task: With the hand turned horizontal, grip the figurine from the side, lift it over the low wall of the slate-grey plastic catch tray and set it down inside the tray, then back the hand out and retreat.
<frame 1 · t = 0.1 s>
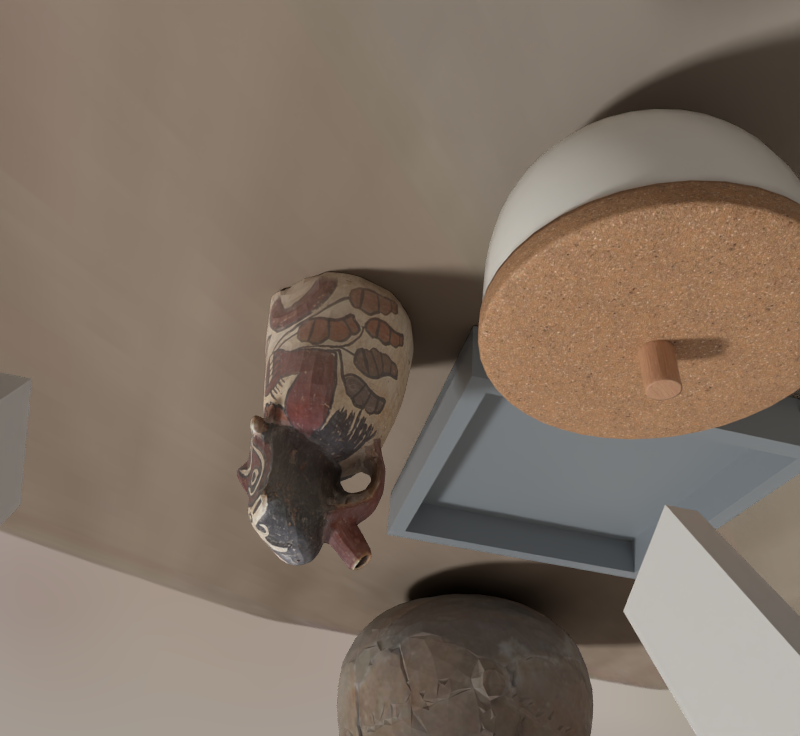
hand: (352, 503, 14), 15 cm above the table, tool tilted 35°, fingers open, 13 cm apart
catch tray: (570, 454, 40), on the table
figurine: (343, 321, 33), on the table
clay pot: (465, 599, 61), on the table
lidded jar: (623, 186, 25), on the table
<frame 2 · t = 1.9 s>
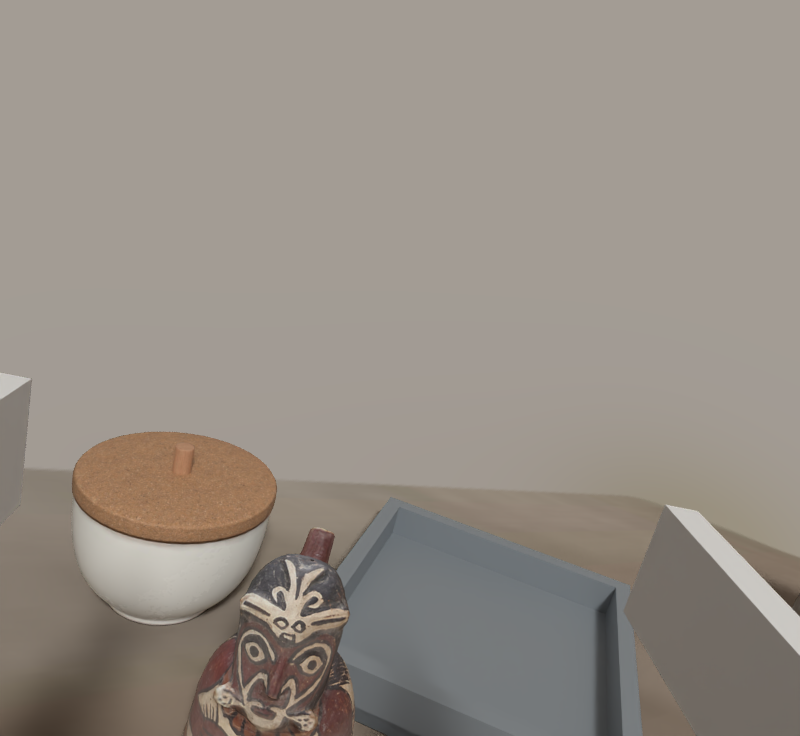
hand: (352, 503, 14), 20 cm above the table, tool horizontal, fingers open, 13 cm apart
catch tray: (472, 647, 41), on the table
lidded jar: (160, 593, 39), on the table
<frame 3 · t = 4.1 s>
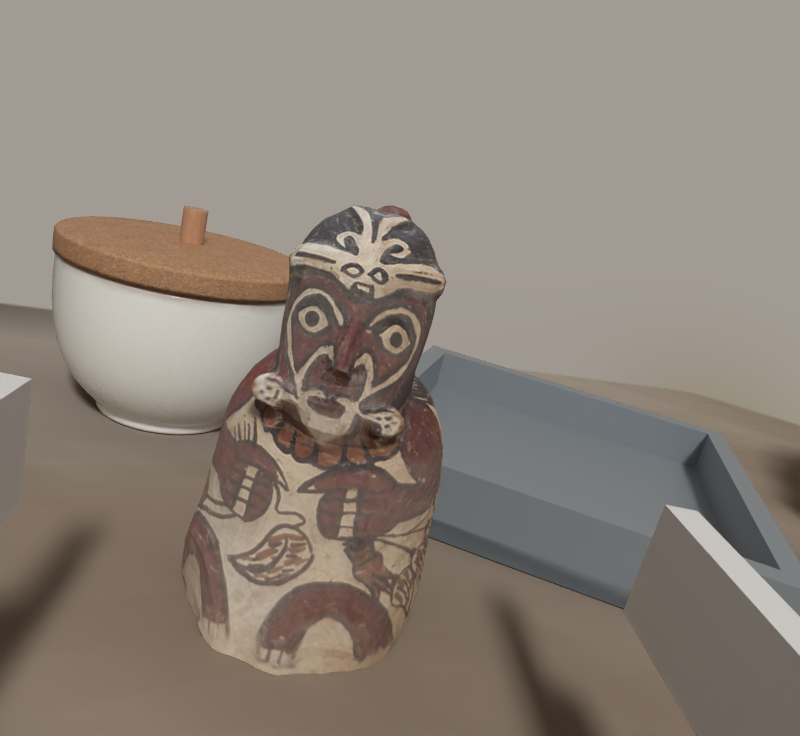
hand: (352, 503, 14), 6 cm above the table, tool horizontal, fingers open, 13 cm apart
catch tray: (547, 485, 34), on the table
figurine: (295, 596, 21), on the table
lidded jar: (165, 411, 32), on the table
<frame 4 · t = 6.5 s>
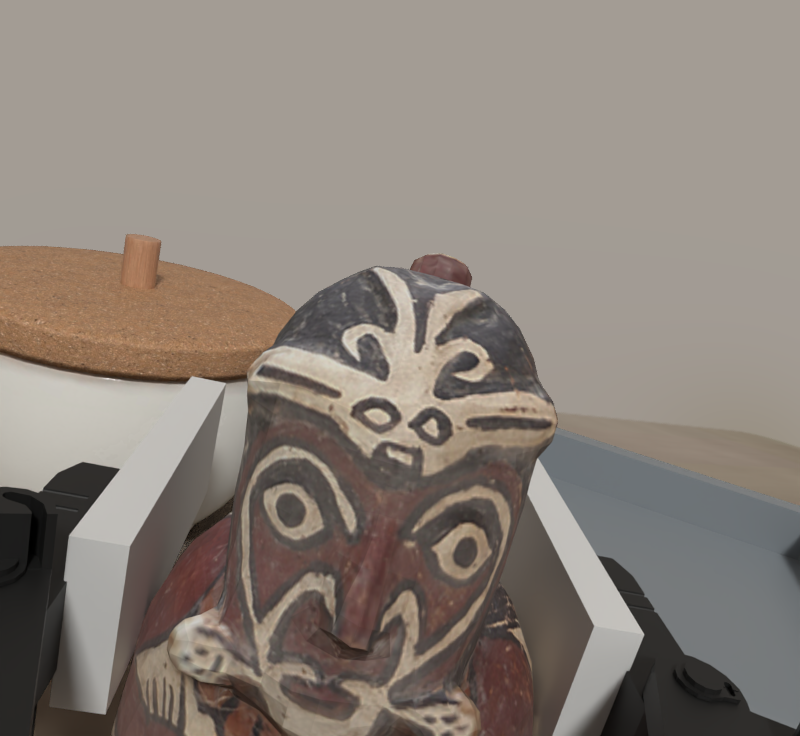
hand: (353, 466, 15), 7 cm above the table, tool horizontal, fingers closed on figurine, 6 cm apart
catch tray: (623, 603, 25), on the table
lidded jar: (107, 510, 23), on the table
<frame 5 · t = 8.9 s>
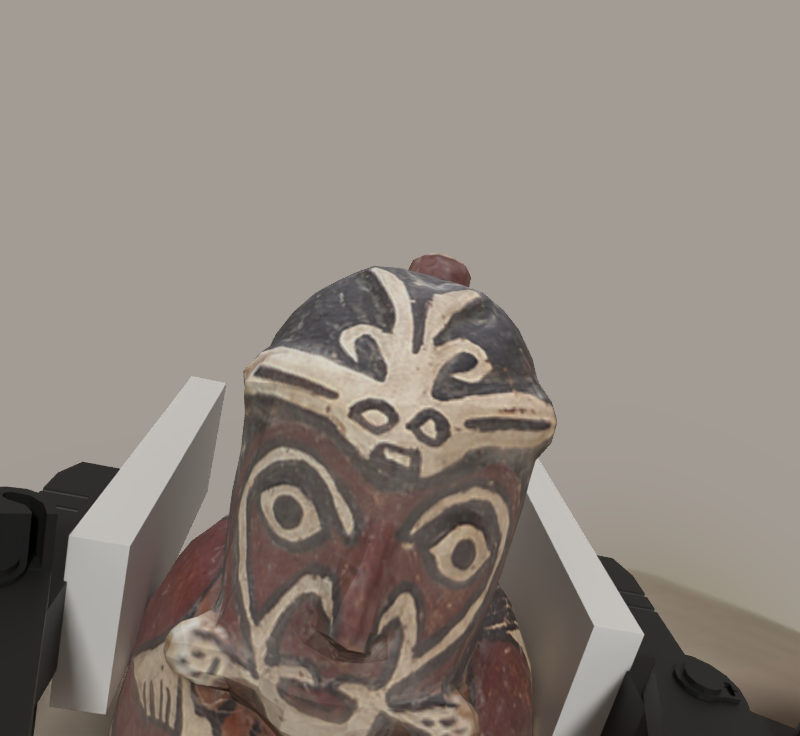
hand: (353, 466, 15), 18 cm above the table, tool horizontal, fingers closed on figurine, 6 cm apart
when the fingers open (9 cm above the table, at t = 11.5 s): figurine drops 2 cm, resting on catch tray.
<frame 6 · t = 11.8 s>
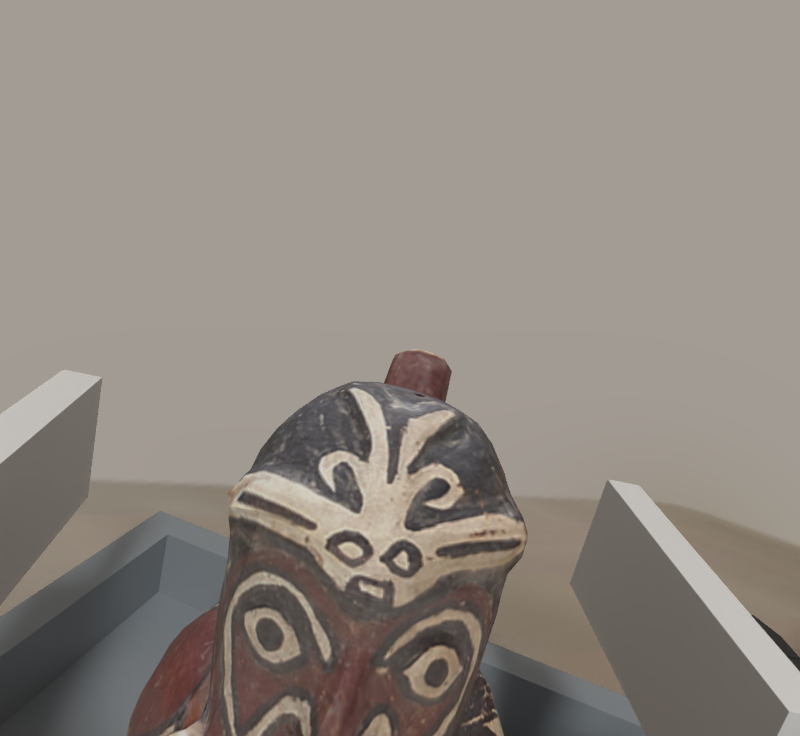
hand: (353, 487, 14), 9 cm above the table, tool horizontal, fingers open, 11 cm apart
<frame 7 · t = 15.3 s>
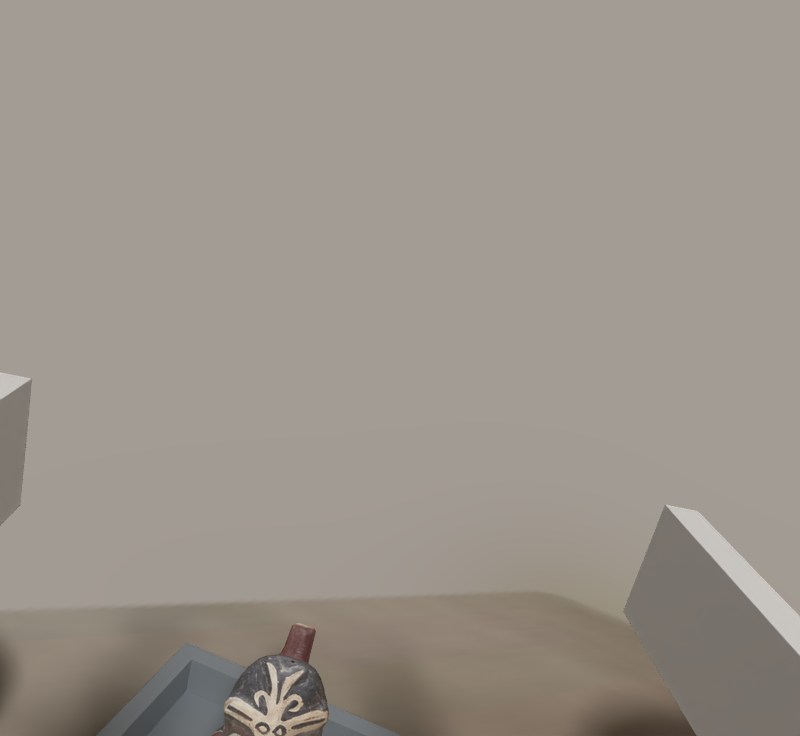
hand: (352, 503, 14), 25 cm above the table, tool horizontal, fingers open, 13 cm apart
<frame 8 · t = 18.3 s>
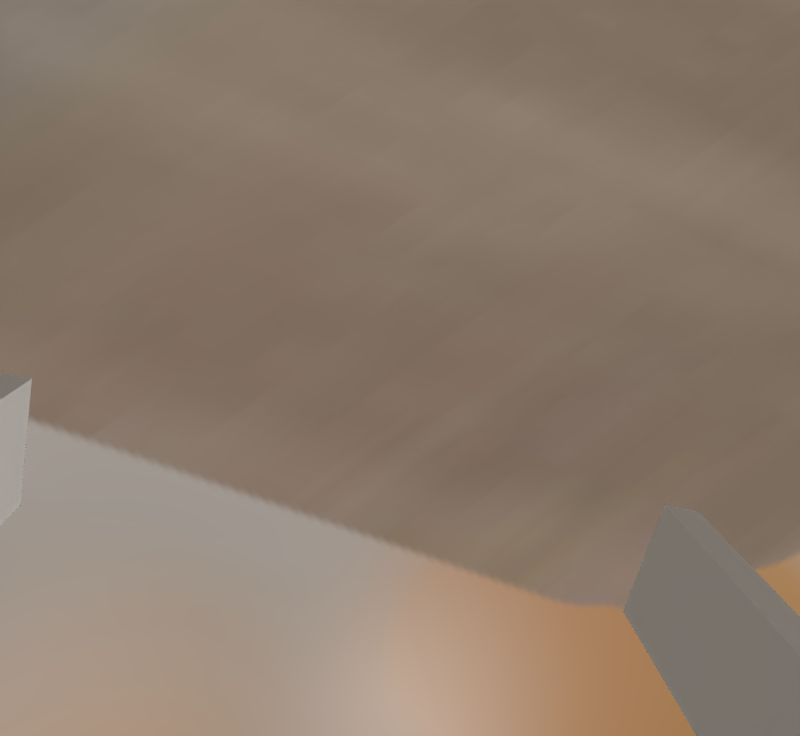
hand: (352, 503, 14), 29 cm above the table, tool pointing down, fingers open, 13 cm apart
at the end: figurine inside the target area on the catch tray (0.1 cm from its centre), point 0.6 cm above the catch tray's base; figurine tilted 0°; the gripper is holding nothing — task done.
